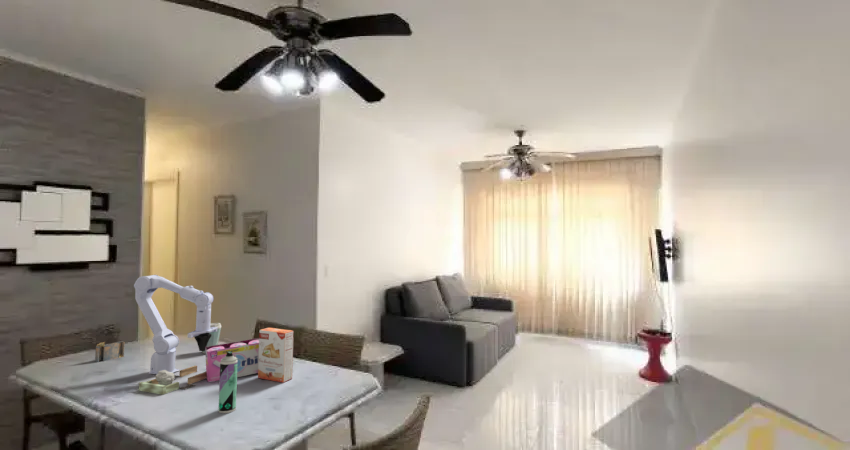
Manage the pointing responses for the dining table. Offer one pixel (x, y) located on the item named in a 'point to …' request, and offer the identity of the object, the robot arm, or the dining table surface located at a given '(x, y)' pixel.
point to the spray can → (228, 383)
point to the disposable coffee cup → (214, 336)
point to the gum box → (242, 350)
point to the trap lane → (154, 387)
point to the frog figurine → (164, 377)
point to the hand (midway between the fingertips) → (202, 350)
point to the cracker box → (275, 354)
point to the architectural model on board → (109, 351)
